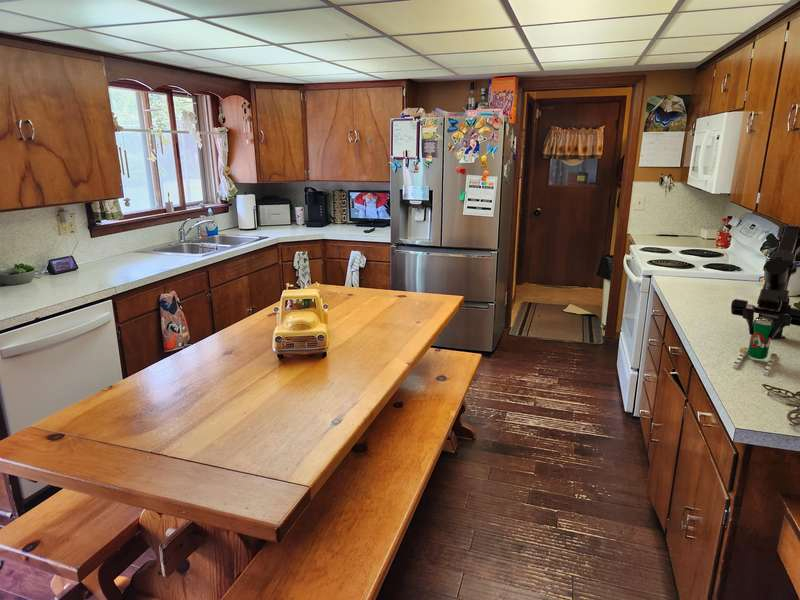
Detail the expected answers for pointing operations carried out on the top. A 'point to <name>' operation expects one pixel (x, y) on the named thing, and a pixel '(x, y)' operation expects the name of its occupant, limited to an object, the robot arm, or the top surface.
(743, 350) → the tabs
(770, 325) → the soda can
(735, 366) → the fader track
